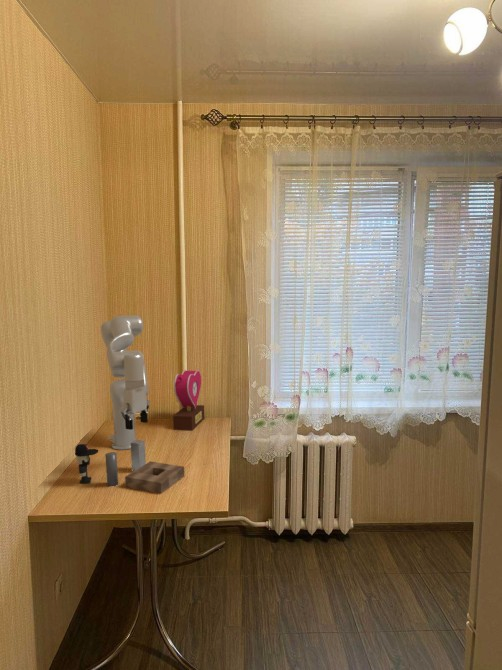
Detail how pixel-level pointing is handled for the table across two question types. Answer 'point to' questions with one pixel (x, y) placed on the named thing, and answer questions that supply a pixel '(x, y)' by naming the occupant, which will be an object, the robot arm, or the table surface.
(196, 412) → the decorative clock
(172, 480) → the bore block
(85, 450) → the toy
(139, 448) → the square bit
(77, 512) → the table surface
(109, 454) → the round bit
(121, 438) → the robot arm
